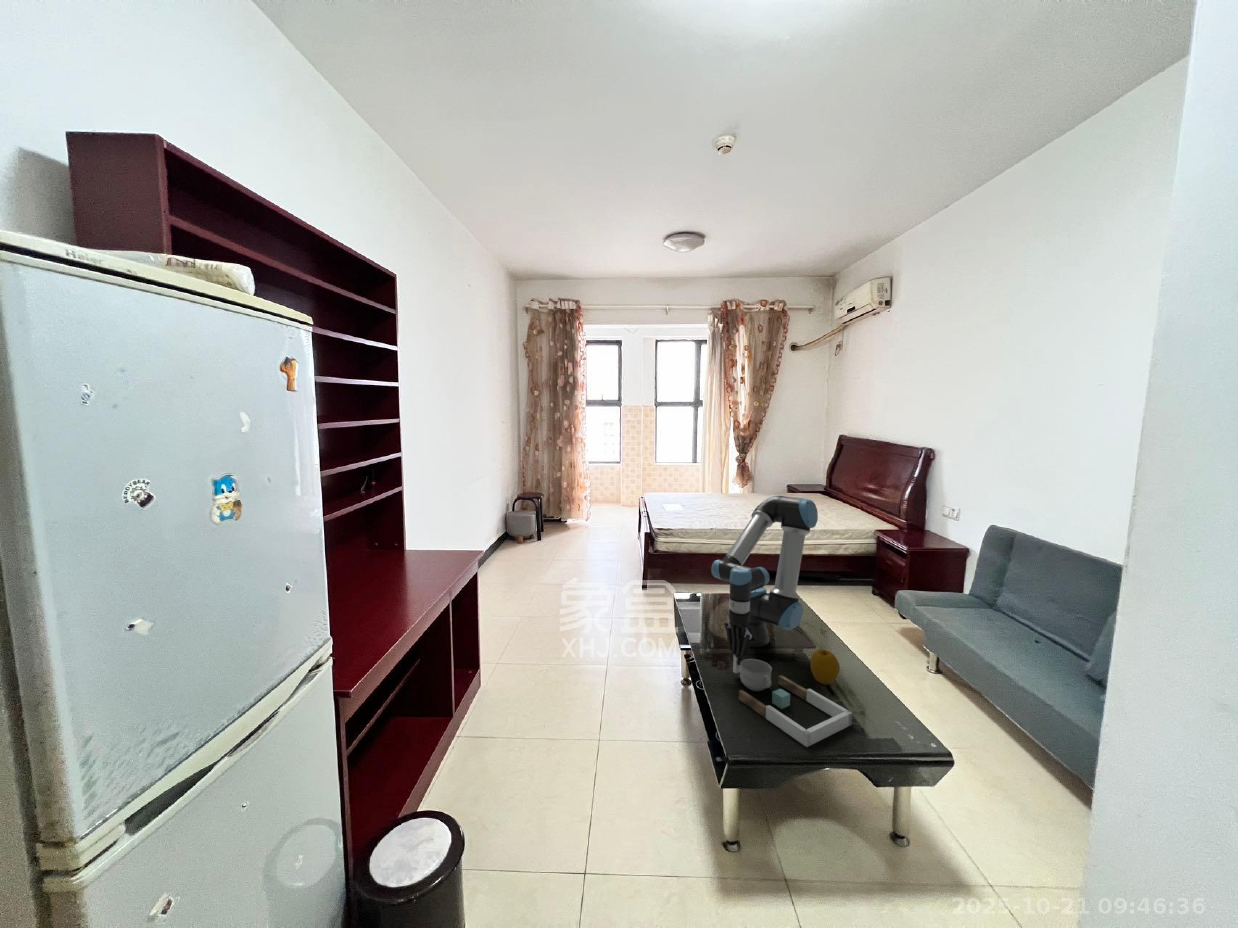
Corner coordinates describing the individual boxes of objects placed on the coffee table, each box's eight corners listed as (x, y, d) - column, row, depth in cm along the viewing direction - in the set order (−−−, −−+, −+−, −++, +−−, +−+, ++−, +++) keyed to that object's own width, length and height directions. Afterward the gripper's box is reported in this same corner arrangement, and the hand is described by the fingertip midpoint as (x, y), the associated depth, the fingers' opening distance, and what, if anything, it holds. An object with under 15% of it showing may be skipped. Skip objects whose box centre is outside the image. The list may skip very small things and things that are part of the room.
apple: (842, 681, 170) (844, 650, 169) (832, 692, 163) (833, 660, 162) (816, 671, 177) (817, 642, 176) (805, 681, 170) (806, 650, 169)
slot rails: (738, 699, 159) (738, 690, 158) (781, 682, 169) (781, 675, 169) (765, 718, 148) (765, 709, 148) (809, 699, 159) (809, 691, 158)
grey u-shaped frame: (765, 718, 148) (766, 706, 148) (809, 699, 159) (809, 688, 158) (806, 747, 135) (807, 734, 134) (851, 724, 145) (852, 712, 145)
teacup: (735, 678, 171) (736, 657, 171) (763, 677, 172) (764, 656, 172) (749, 700, 158) (750, 678, 157) (780, 699, 159) (781, 677, 158)
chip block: (772, 702, 157) (772, 691, 156) (780, 699, 159) (780, 688, 158) (781, 709, 153) (781, 697, 153) (789, 705, 155) (790, 694, 155)
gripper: (719, 605, 175) (717, 666, 177) (744, 618, 164) (742, 682, 166) (734, 602, 179) (732, 661, 181) (759, 614, 168) (757, 677, 169)
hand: (737, 671), depth 173 cm, fingers closed
